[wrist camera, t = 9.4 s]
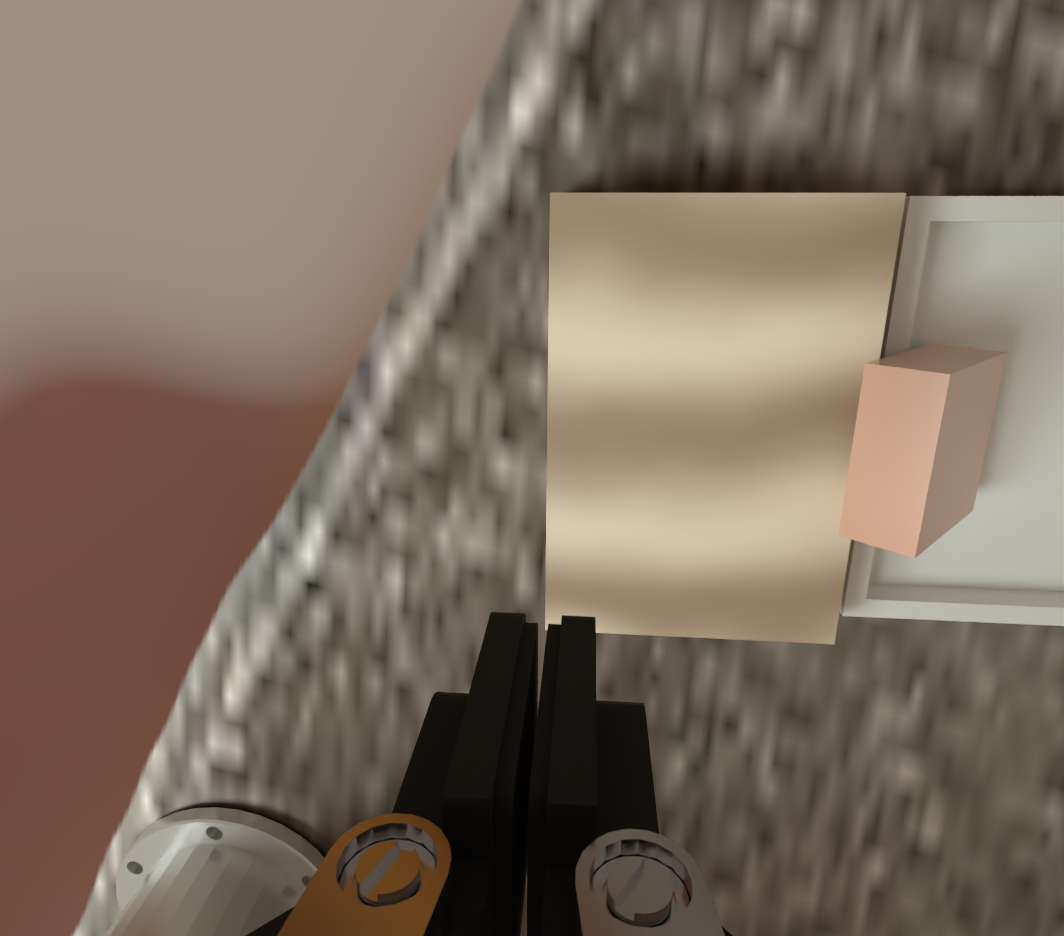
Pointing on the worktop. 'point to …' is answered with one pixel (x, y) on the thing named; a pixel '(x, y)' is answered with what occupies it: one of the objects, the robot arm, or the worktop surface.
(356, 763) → the worktop surface
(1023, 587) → the box
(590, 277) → the beige rectangular block
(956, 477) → the tile
